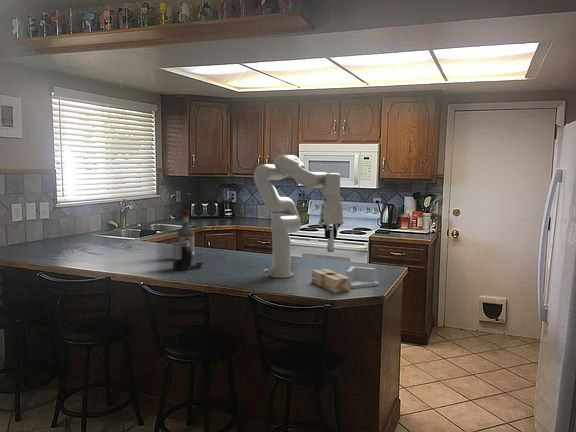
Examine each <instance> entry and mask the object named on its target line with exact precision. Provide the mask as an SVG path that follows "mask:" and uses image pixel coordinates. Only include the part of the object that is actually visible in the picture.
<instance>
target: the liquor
mask: <svg viewBox="0 0 576 432" xmlns="http://www.w3.org/2000/svg"><path fill="white" fill-rule="evenodd" d="M189 211H190V210H188V209H183V210H182V226H181V227H180V228H179V229H178V231H177V242H189V243H188V247H190V249H191V252H192V257H191V259H192V260H194V259H195V232H194V230H193V229H192V228H191V226H190V223H189ZM193 258H194V259H193Z"/></svg>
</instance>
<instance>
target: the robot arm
mask: <svg viewBox="0 0 576 432" xmlns="http://www.w3.org/2000/svg"><path fill="white" fill-rule="evenodd" d="M305 167H306V166H305V164H304V163H303V162H302V161H300V159H299V158H298V156H296V155H294V154H279V155H277V156H276V157H275V158H274V159H273V163H264V164H263V163H262V164H259V165H257V167H256V168H255V170H254V171H253V179H254V180H253V181H254V184H255V186H256V188H257V189H258V192H259V193H260V196H261V199H262V201H263V204H264V206H265V208H266V211H267V213H268V214H270V216H275V217H273V218H272V220H271V221H270V230H271V236H272V237H271V238H272V266H270V268H264V269H263V273H264V274H266V273H267V274H269V276H270V277H272V278H276V279H277V278H278V279H279V278H281V279H285V278H292V277H293V276H294V272H292V271H291V267H292V264H291V263H292V262H291V261H292V259H291V257H292V253H291V251H292V250H291V247H292V243H291V238H290V236H289V234H291V233H292V234H293V233H296V232H298V231H299V230H300V229H301V228H302V220H301V217H300V214H299V212H298V210H297V207H296V205H295V203H294V201H293V199H291V197H288V196H280V195H279V194H278V191H277V188H276V187H275V186H274V185H273V183H272V182H271V181H280V180H283V179H285V178H287V177H288V176H289V177H292V178H293V179H294V181H295V182H296V183H298V184H300V185H301V186H303V187H305V188H308V189H323V196H322V197H321V200H322V203H321V207H320V208H321V209H320V217H319V222H318V225H319V226H320V227H322V229H323V230H324V238H325V239H327V240H328V239H329V238H330V230H329V228H330V225H331V224H332V228H333V229H334V239H337V236H338V230H339V228H340V226H342V225H343V224H344V215H343V213H344V212H343V205H342V201H341V199H340V198H341V197H340V196H341V175H340V173H338V172H325V171H322V172H320V171H315V172H314V171H308V170H306V168H305Z"/></svg>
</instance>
